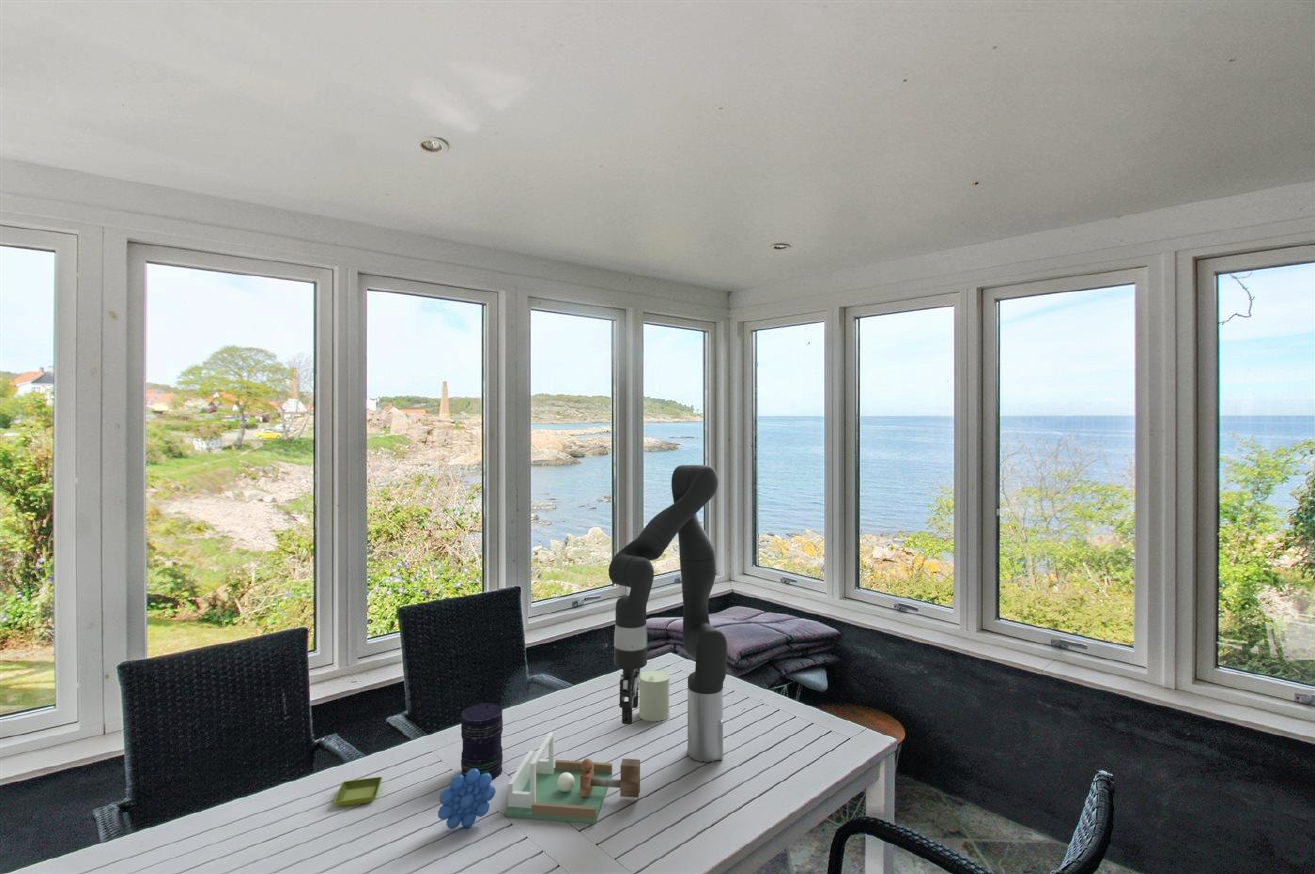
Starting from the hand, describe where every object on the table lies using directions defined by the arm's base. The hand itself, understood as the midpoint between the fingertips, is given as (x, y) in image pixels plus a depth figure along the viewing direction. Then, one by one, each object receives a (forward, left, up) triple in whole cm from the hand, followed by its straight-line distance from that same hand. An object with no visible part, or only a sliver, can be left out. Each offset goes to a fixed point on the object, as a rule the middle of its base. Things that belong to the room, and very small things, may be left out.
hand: (630, 715), depth 141 cm
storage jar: (+38, -7, -19) cm, 43 cm away
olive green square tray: (+62, +6, -20) cm, 65 cm away
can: (0, -44, -19) cm, 48 cm away
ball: (+15, 0, -16) cm, 22 cm away
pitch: (+16, 0, -19) cm, 25 cm away
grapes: (+33, +13, -19) cm, 40 cm away
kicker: (+5, 0, -18) cm, 18 cm away
